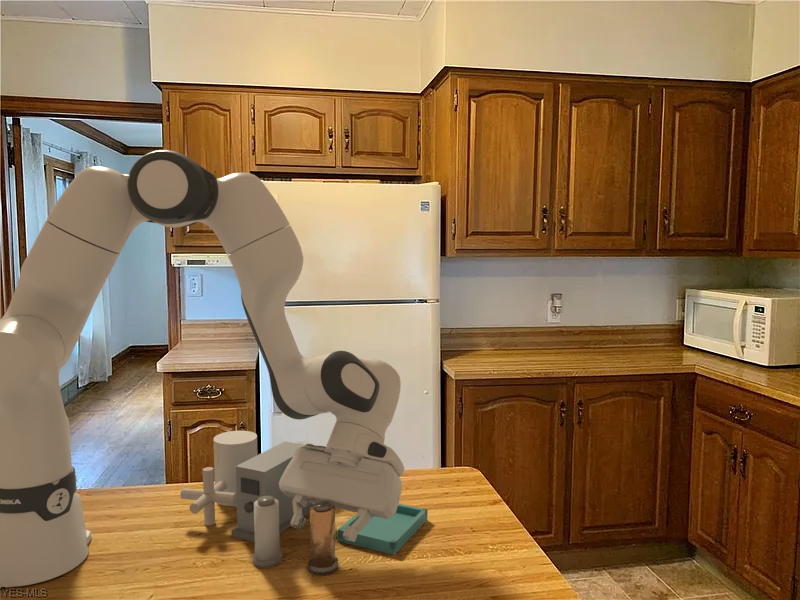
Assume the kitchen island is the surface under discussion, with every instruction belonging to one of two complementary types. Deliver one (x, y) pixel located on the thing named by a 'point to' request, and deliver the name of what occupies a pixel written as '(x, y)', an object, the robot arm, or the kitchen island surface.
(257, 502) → the cylinder
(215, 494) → the pipe connector
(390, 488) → the robot arm
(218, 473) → the light grey cylinder
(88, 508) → the kitchen island surface
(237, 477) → the box
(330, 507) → the copper cartridge
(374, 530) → the tray
